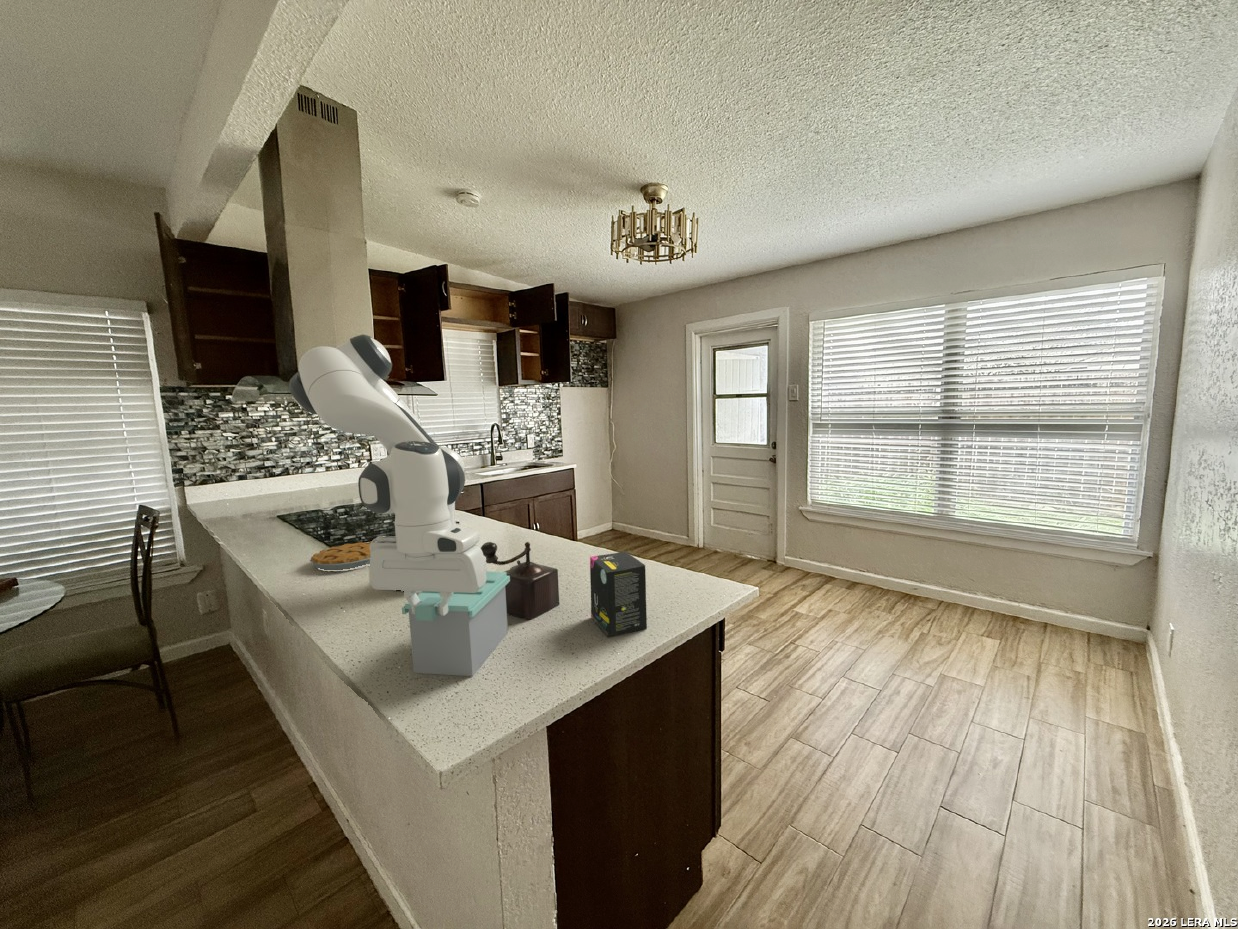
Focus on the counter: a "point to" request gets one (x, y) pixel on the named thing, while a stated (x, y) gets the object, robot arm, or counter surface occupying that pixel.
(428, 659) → the tub
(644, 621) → the tampon box
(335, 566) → the pie
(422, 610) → the lid
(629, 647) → the counter surface
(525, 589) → the manual coffee grinder
